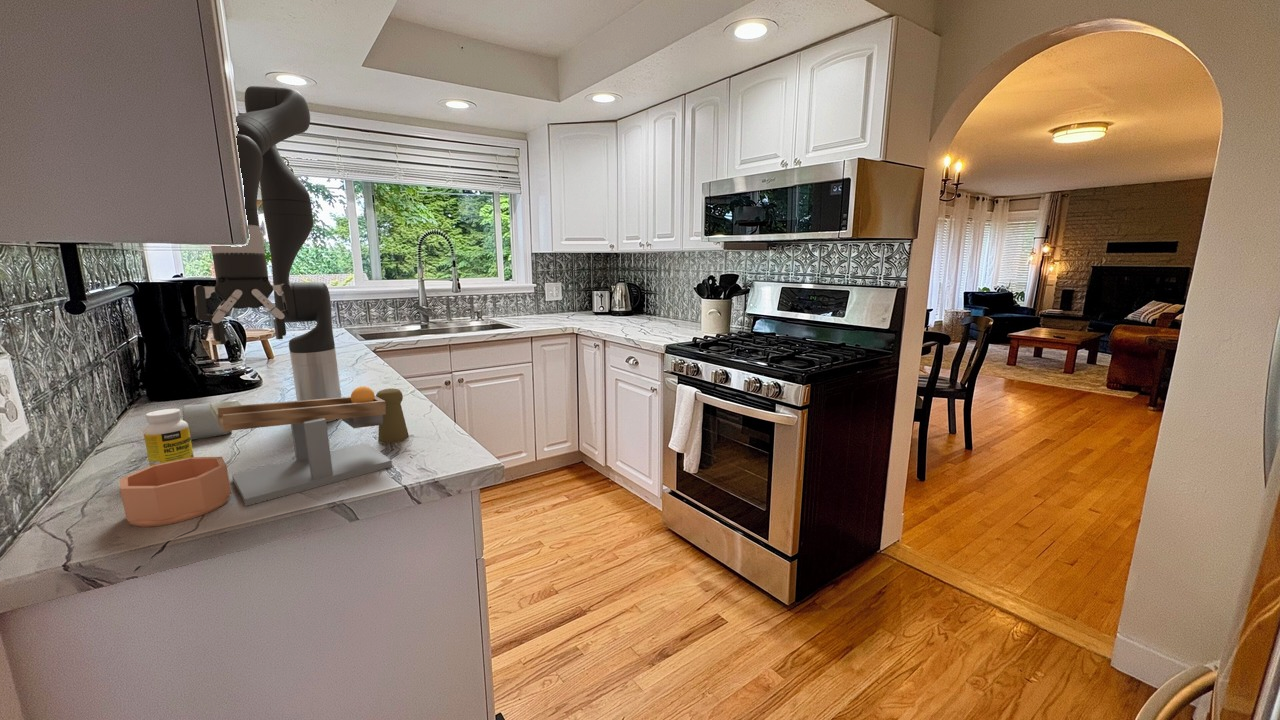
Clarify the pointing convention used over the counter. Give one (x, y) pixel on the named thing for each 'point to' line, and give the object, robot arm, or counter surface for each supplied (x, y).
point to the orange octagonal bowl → (175, 491)
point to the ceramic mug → (201, 421)
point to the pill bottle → (167, 437)
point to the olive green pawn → (392, 417)
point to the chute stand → (308, 465)
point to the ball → (362, 395)
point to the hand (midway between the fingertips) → (251, 341)
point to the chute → (298, 413)
